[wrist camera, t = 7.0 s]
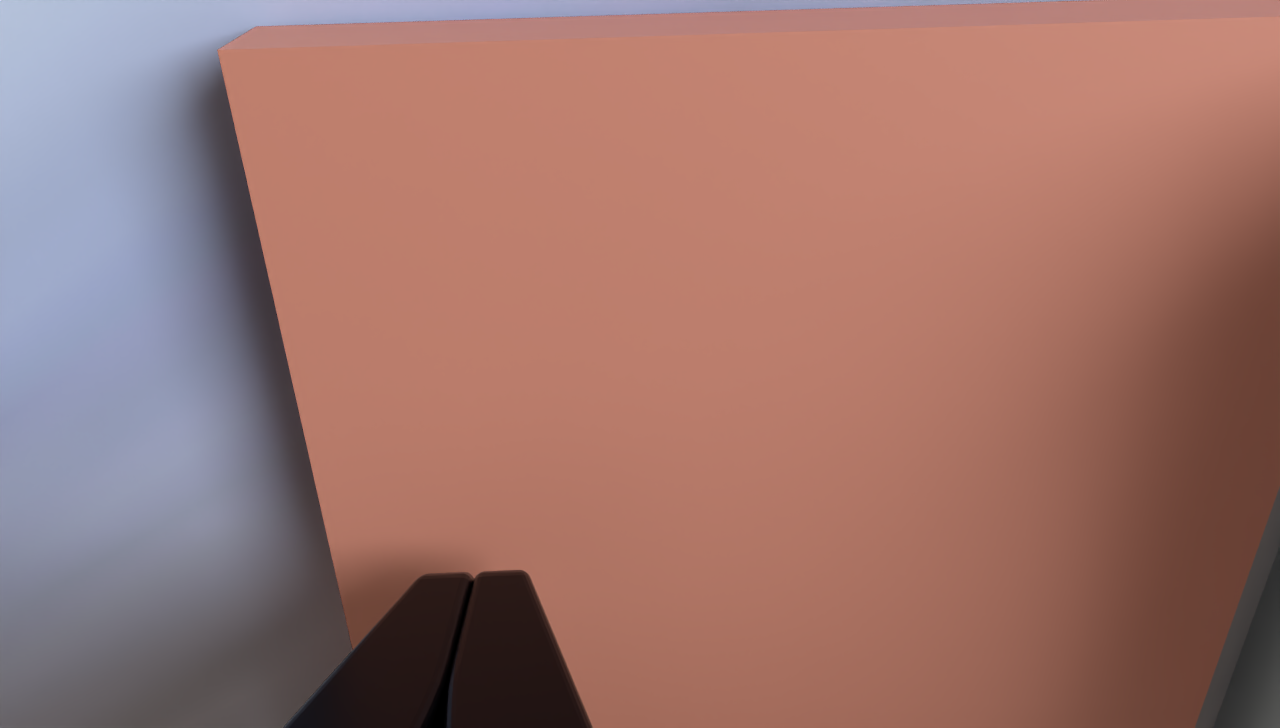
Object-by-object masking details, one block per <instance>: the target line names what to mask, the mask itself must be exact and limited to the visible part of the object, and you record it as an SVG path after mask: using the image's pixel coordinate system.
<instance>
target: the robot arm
mask: <svg viewBox="0 0 1280 728" xmlns="http://www.w3.org/2000/svg"><path fill="white" fill-rule="evenodd" d="M283 728H593V727H592V724H591V722H590V719H589V717H588V715H587V712H586V710H585V707H584V705H583V703H582V700H581V698H580V695H579V693H578V691H577V688H576V686H575V683H574V681H573V679H572V676H571V674H570V671H569V669H568V667H567V664H566V662H565V659H564V657H563V655H562V652H561V650H560V647H559V645H558V643H557V640H556V638H555V635H554V633H553V631H552V628H551V626H550V623H549V621H548V619H547V616H546V614H545V611H544V609H543V607H542V604H541V602H540V599H539V597H538V595H537V592H536V590H535V587H534V585H533V583H532V580H531V578H530V576H529V574H528V573H527V572H525V571H523V570H499V571H483V572H480V573H479V574H477V575H476V577H475V578H474V577H473V576H472V575H471V574H470V573H468V572H449V573H428V574H424V575H422V576H420V577H419V578H417V579H416V580H415V581H414V582H413V584H412V585H411V586H410V587H409V588H408V589H407V590H406V591H405V592H404V594H403V595H402V596H401V597H400V598H399V599H398V600H397V601H396V602H395V604H394V605H393V606H392V607H391V608H390V609H389V610H388V611H387V612H386V614H385V615H384V616H383V617H382V618H381V619H380V620H379V621H378V623H377V624H376V625H375V626H374V627H373V628H372V629H371V630H370V631H369V633H368V634H367V635H366V636H365V637H364V638H363V639H362V640H361V641H360V643H359V644H358V645H357V646H356V647H355V648H354V649H353V650H352V652H351V653H350V654H349V655H348V656H347V657H346V658H345V659H344V660H343V662H342V663H341V664H340V665H339V666H338V667H337V668H336V669H335V670H334V672H333V673H332V674H331V675H330V676H329V677H328V678H327V679H326V680H325V682H324V683H323V684H322V685H321V686H320V687H319V688H318V689H317V691H316V692H315V693H314V694H313V695H312V696H311V697H310V698H309V699H308V701H307V702H306V703H305V704H304V705H303V706H302V707H301V708H300V709H299V711H298V712H297V713H296V714H295V715H294V716H293V717H292V718H291V719H290V721H289V722H288V723H287V724H286V725H285V726H284V727H283Z"/></svg>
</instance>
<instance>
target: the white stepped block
mask: <svg viewBox="0 0 1280 728" xmlns="http://www.w3.org/2000/svg"><path fill="white" fill-rule="evenodd" d="M1213 728H1280V546H1279V549H1278V552H1277V555H1276V557H1275V560H1274V563H1273V565H1272V568H1271V571H1270V574H1269V576H1268V579H1267V582H1266V585H1265V587H1264V590H1263V593H1262V596H1261V598H1260V601H1259V604H1258V607H1257V609H1256V612H1255V615H1254V618H1253V620H1252V623H1251V626H1250V628H1249V631H1248V634H1247V637H1246V639H1245V642H1244V645H1243V648H1242V650H1241V653H1240V656H1239V659H1238V661H1237V664H1236V667H1235V670H1234V672H1233V675H1232V678H1231V680H1230V683H1229V686H1228V689H1227V691H1226V694H1225V697H1224V700H1223V702H1222V705H1221V708H1220V711H1219V713H1218V716H1217V719H1216V722H1215V724H1214V727H1213Z"/></svg>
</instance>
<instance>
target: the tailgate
mask: <svg viewBox="0 0 1280 728" xmlns="http://www.w3.org/2000/svg"><path fill="white" fill-rule="evenodd" d="M217 51H218V55H219V59H220V64H221V68H222V73H223V77H224V82H225V86H226V90H227V95H228V99H229V104H230V108H231V113H232V117H233V122H234V126H235V130H236V135H237V139H238V144H239V148H240V153H241V157H242V161H243V166H244V170H245V175H246V179H247V184H248V188H249V192H250V197H251V201H252V206H253V210H254V215H255V219H256V224H257V228H258V232H259V237H260V241H261V246H262V250H263V255H264V259H265V263H266V268H267V272H268V277H269V281H270V286H271V290H272V294H273V299H274V303H275V308H276V312H277V317H278V321H279V326H280V330H281V334H282V339H283V343H284V348H285V352H286V357H287V361H288V365H289V370H290V374H291V379H292V383H293V388H294V392H295V397H296V401H297V405H298V410H299V414H300V419H301V423H302V428H303V432H304V436H305V441H306V445H307V450H308V454H309V459H310V463H311V467H312V472H313V476H314V481H315V485H316V490H317V494H318V499H319V503H320V507H321V512H322V516H323V521H324V525H325V530H326V534H327V538H328V543H329V547H330V552H331V556H332V561H333V565H334V569H335V574H336V578H337V583H338V587H339V592H340V596H341V601H342V605H343V609H344V614H345V618H346V623H347V627H348V632H349V636H350V640H351V645H352V649H354V648H355V647H356V646H357V645H358V644H359V643H360V641H361V640H362V639H363V638H364V637H365V636H366V635H367V634H368V633H369V631H370V630H371V629H372V628H373V627H374V626H375V625H376V624H377V623H378V621H379V620H380V619H381V618H382V617H383V616H384V615H385V614H386V612H387V611H388V610H389V609H390V608H391V607H392V606H393V605H394V604H395V602H396V601H397V600H398V599H399V598H400V597H401V596H402V595H403V594H404V592H405V591H406V590H407V589H408V588H409V587H410V586H411V585H412V584H413V582H414V581H415V580H416V579H417V578H419V577H420V576H422V575H424V574H428V573H449V572H468V573H470V574H471V575H472V576H473V577H474V578H475V577H476V575H477V574H479V573H480V572H483V571H499V570H523V571H525V572H527V573H528V574H529V576H530V578H531V580H532V583H533V585H534V587H535V590H536V592H537V595H538V597H539V599H540V602H541V604H542V607H543V609H544V611H545V614H546V616H547V619H548V621H549V623H550V626H551V628H552V631H553V633H554V635H555V638H556V640H557V643H558V645H559V647H560V650H561V652H562V655H563V657H564V659H565V662H566V664H567V667H568V669H569V671H570V674H571V676H572V679H573V681H574V683H575V686H576V688H577V691H578V693H579V695H580V698H581V700H582V703H583V705H584V707H585V710H586V712H587V715H588V717H589V719H590V722H591V724H592V727H593V728H1213V727H1214V724H1215V722H1216V719H1217V716H1218V713H1219V711H1220V708H1221V705H1222V702H1223V700H1224V697H1225V694H1226V691H1227V689H1228V686H1229V683H1230V680H1231V678H1232V675H1233V672H1234V670H1235V667H1236V664H1237V661H1238V659H1239V656H1240V653H1241V650H1242V648H1243V645H1244V642H1245V639H1246V637H1247V634H1248V631H1249V628H1250V626H1251V623H1252V620H1253V618H1254V615H1255V612H1256V609H1257V607H1258V604H1259V601H1260V598H1261V596H1262V593H1263V590H1264V587H1265V585H1266V582H1267V579H1268V576H1269V574H1270V571H1271V568H1272V565H1273V563H1274V560H1275V557H1276V555H1277V552H1278V549H1279V546H1280V0H1090V1H1058V2H1026V3H994V4H962V5H930V6H898V7H866V8H834V9H802V10H769V11H737V12H705V13H673V14H641V15H609V16H577V17H545V18H513V19H481V20H449V21H417V22H385V23H353V24H321V25H289V26H257V27H254V28H253V29H251V30H249V31H248V32H246V33H244V34H243V35H241V36H239V37H238V38H236V39H235V40H233V41H231V42H230V43H228V44H226V45H225V46H223V47H221V48H220V49H218V50H217Z"/></svg>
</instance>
